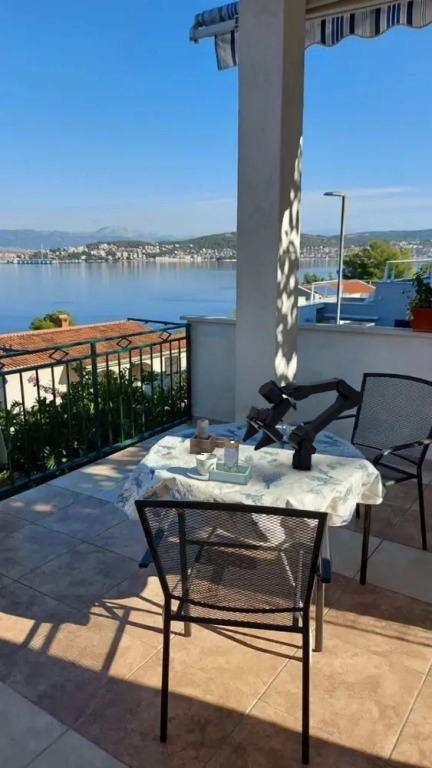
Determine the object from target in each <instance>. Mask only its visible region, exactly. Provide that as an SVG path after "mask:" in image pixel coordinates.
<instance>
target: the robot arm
mask: <svg viewBox="0 0 432 768" xmlns="http://www.w3.org/2000/svg"><path fill="white" fill-rule="evenodd" d="M277 383H278V382H276V381H275V380H274V379H270V380H269V381H267V382H265V383H263V384H261V386H260V387H259V389H258V391H257V392H258V394H259V395H260V397H262V399H263V400H264V401H265V402H267V403H268V404H269V405H271V406H270V407H262V408H260V407H257V406H254V405H251V407H250V408H249V411H248V414H247V416H245V419H246V423H247V424H246V426H247V427H246V430H245V433H244V434H243V437H242V440H241V441H242V442H243V443H246V442H248V441H249V440H251V438H253V437H254V436H256V435H257V434H259V433H260V432H261V431H260V430H262V436H261V437H260V439H259V440H258V441H257V443H256V444H255V446H254V447H253V450H254V451H255V452H257V451H259V450H262V449H263V448H265V447H269V446H271V445H273V444H277V443H279V444H280V443H281V442H282V441H283V440H284V434H283V433H282V432H281V431H280V430H279V429H278V428H277V426H278V425H279V424H280V423H281V424H282V423H283V422H284V420H283V419H284V418H285V416H286V415H287V414H288V413H289V411H290V410H294V412H296V411H297V410H298V408H297V403H296V402H300V401H302V400H306V399H308V398H309V397H310V396H312V395H316V394H321V393H327V392H336V393H337V395H336V398H335V401H334V402H332V404H330V406H328V407H327V408H326V409H325V410H324V411H322V412H321V413H320V414H319V415H317V416H316V417H315V418H314V419H313V420H312V421H311V422H309V423H308V424H307V425H304V426H303V425H302V424H300V423H299V424H298V425H296V427H295V428H293V429H292V430H290V431H291V432H290V433H289V434H288V443H289V445H290V446H291V448H292V449H293V450H294V452H293V453H292V459H291V461H292V462H291V465H292V469H293V470H298V469H305V470H304V471H307V470H312V467H311V466H312V465H313V463H312V462H313V455H316V452H317V447H315V445H313V444H314V442H315V439H316V437H317V435H318V434H320V433H321V432H322V431H323V430H325V428H327V427H328V426H329V425H330V424H332V423H333V422H334V421H335V420H336V419H337V418H338V417H340V416H341V415H342V414H343V413H344V412H347V411H351V410H353V409H355V408H357V407H358V406H360V405H361V404H362V403H363V399H364V397H363V396H364V395H363V393H362V392H361V391H359V390H357V389H356V388H354V387H353V386H352V385H350V384H349V383H348V382H347V381H346V380H345V379H343V378H340V377H332V378H327V379H323V380H316V381H310V382H304V381H303V382H302V381H289V382H287V383H286V384H285V385H282V386H281V385H278V384H277ZM291 399H292V400H294V401H292V400H291Z"/></svg>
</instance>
